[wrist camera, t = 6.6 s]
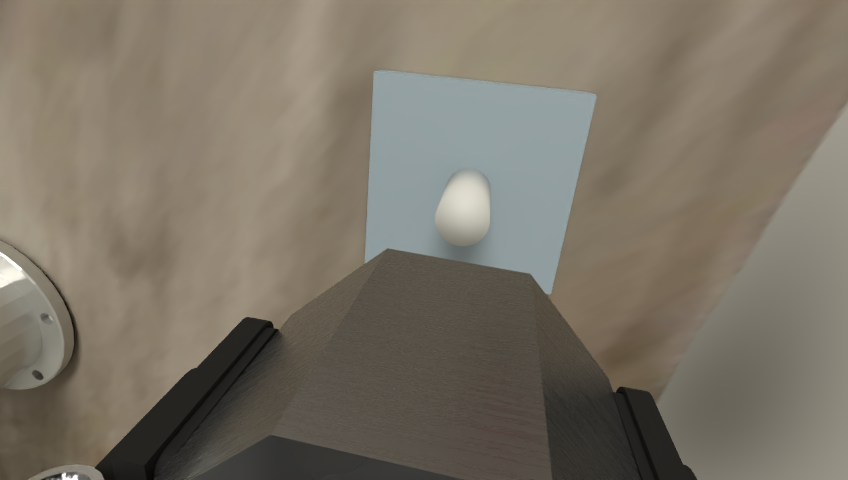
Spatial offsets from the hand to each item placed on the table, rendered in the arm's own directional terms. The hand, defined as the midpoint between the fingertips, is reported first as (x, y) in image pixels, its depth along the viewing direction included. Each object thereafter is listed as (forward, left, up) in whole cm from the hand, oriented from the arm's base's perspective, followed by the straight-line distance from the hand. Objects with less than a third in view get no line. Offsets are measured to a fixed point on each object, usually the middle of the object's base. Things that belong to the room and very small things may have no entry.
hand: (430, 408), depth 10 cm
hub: (+1, +1, -16) cm, 16 cm away
